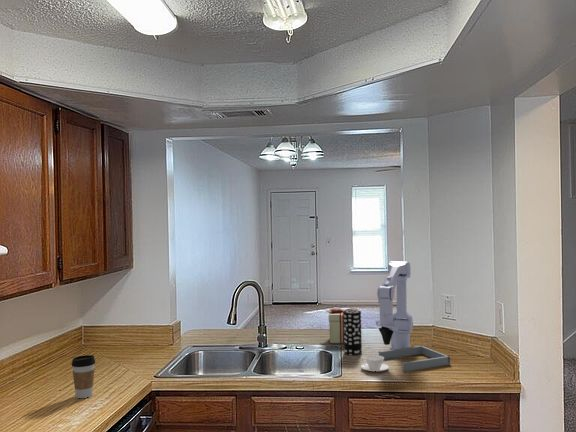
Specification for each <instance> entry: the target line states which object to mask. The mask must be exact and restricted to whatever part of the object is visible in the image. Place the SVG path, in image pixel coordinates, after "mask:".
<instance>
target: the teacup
mask: <svg viewBox="0 0 576 432" xmlns="http://www.w3.org/2000/svg"><path fill="white" fill-rule="evenodd" d="M364 360H365V362H364ZM384 361H385V359H384V357H382V356H379V354H378V355H377V354H370V355H367V356H365V357H361V363H362V364H361V366H360V368H361V369H362V370H364V371H368V372H369V371H370V372H375V371H376V372H383V371H387V370H389V369H390V367H389V365H387V364H385V363H384Z"/></svg>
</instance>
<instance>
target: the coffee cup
mask: <svg viewBox="0 0 576 432" xmlns="http://www.w3.org/2000/svg"><path fill="white" fill-rule="evenodd" d="M95 364H96V358H95V355H91V354H87V355H79V356H78V355H77V356H75V357H73V358H72V361H71V367H72V378H73V385H74V391H75V393H74V394H75V398H76V399H77V398H86V399H88V398H87V397H89V398H91V397H92V396H93V394H94V393H93V392H94V382H95V381H94V379H95Z"/></svg>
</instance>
